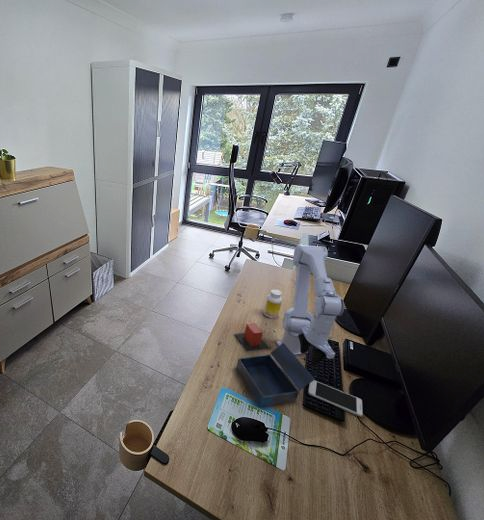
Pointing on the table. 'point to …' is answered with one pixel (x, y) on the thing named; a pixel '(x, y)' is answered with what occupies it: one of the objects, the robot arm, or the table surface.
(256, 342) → the block
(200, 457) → the table surface
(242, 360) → the carton
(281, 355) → the flap
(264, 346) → the mat
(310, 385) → the smartphone
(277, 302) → the supplement bottle
